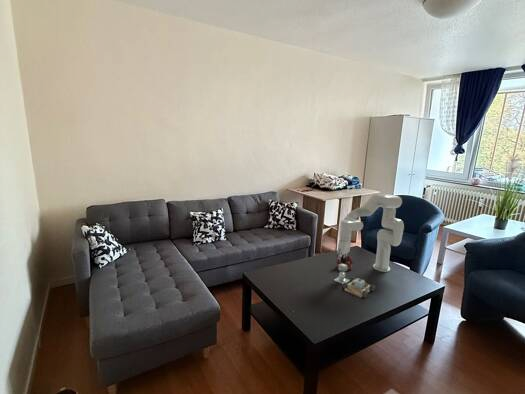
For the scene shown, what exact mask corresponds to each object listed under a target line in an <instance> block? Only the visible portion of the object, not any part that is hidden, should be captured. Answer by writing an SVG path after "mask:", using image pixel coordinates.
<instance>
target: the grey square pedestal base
mask: <svg viewBox="0 0 525 394" xmlns="http://www.w3.org/2000/svg"><path fill="white" fill-rule="evenodd" d="M333 281H334V282H336V283H338V284H340V285H343V283H344V282H345V283H350V282H351V279H348V278H346V271H339V275H338V277H336V278H334V279H333Z"/></svg>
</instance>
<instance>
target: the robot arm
mask: <svg viewBox="0 0 525 394" xmlns="http://www.w3.org/2000/svg"><path fill="white" fill-rule="evenodd" d="M402 204H403V199H402V197H400V196H398V195H393V194H389V193H374V194H373V195H371V197H369V199H368V200H367V201H366V202H365V203H364V204H363V205H362V206H361V207H357V208H355V209H353V210H351V211H350V212H349V213H347V214H346V216H345V217H344V219H342V220H341V221H340V227H339V228H340V229H339V240H338V244H337V251H336V252H337V254H338V255H339V256H340V257H341V261H340V262H341V263H346V257H347V256H348V254H349V253H350V251H351V245H352V244H351V242H352V233H353V232H359V231H361V230H363V228H364V223H363V221H361V220H359V219H357V218H360V217H368V216H372V215H373V214H374V213H375V211H376V210H378V208H379V207H381V208H383V209H382V210H383V212H382V218H381V227H382V228H384V229H379V231H377V235H376V240H377V246H376V247H377V248H376V255H375V257H376V258H375V263H373V265H372V267H373V269H374V270H376V271H378V272H382V273H383V272H384V273H386V272H387V273H388V272H390V271H391V267H390V266H389V264H390V258H391V257H390V256H391V249H392V248H391V247H392V246H393V247H398V246H400V244H401V242H402V239H403V234H404V230H405V224H404V221H403V220H402V219H399V218H396V213H397V209H398V208H400V207H401V205H402Z"/></svg>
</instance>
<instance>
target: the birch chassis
mask: <svg viewBox="0 0 525 394" xmlns="http://www.w3.org/2000/svg"><path fill="white" fill-rule="evenodd" d="M356 279H357V278H356V277H354V276H352V277H351V278H350V282H347V283H345V282H344V283H343V284H342V288H343V289H344V291H345V292H347V293H350V294H352V295H354V296H355V297H359V298H361V299H362V298H365V299H366V298H367V297H368V295H369V292H370V291H371V292H375V291H376V285H374V284H369V283H366V282H365V285H364V289H363V290H361V289H359V288H356V287H354V281H355V280H356Z"/></svg>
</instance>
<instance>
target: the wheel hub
mask: <svg viewBox="0 0 525 394" xmlns="http://www.w3.org/2000/svg"><path fill="white" fill-rule="evenodd" d="M337 267H338V268H337V269H338V271H339V272H347V271H348V270H347V265H346V264H339V266H337Z"/></svg>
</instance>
